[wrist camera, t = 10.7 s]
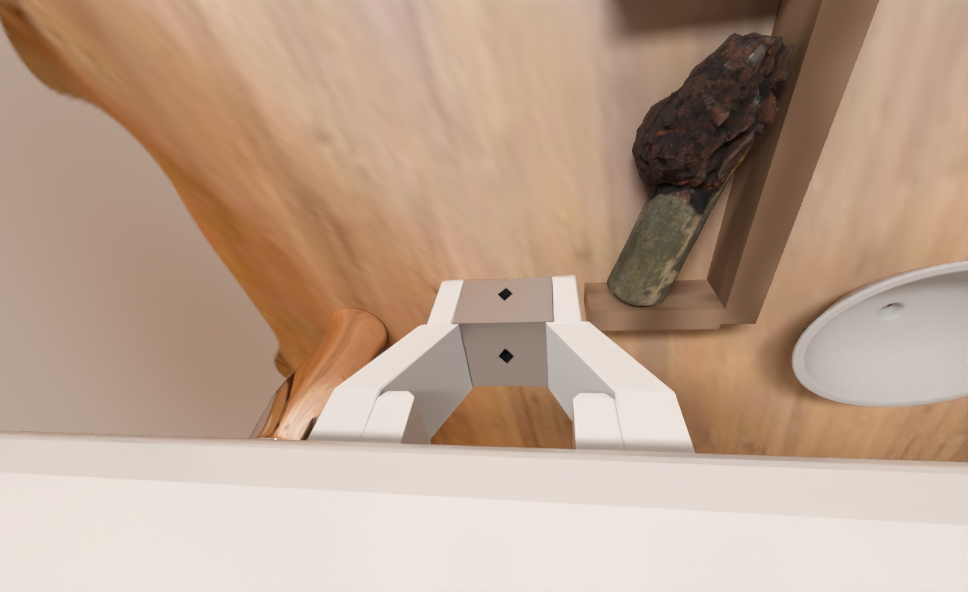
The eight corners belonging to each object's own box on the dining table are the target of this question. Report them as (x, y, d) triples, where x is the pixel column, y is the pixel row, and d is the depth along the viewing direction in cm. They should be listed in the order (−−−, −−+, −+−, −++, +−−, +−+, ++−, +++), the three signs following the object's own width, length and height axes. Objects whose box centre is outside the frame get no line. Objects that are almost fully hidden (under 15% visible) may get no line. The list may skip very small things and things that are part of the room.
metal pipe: (657, 280, 34) (675, 322, 29) (581, 265, 34) (587, 305, 29) (785, 39, 23) (844, 48, 19) (673, 17, 23) (705, 20, 19)
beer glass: (386, 306, 38) (318, 441, 26) (396, 356, 43) (342, 493, 31) (318, 302, 39) (222, 432, 27) (335, 352, 43) (258, 485, 31)
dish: (745, 366, 38) (770, 408, 34) (790, 235, 30) (829, 270, 26) (961, 361, 35) (1016, 406, 31) (1077, 213, 27) (1171, 249, 23)
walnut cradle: (874, -142, 19) (945, -173, 15) (732, 298, 34) (753, 328, 30) (602, -95, 20) (614, -113, 17) (584, 301, 36) (588, 331, 32)
